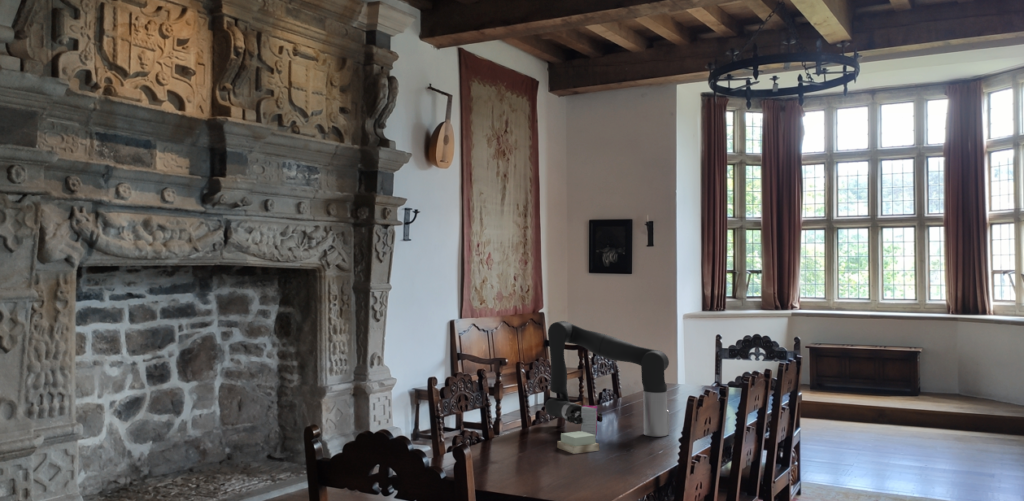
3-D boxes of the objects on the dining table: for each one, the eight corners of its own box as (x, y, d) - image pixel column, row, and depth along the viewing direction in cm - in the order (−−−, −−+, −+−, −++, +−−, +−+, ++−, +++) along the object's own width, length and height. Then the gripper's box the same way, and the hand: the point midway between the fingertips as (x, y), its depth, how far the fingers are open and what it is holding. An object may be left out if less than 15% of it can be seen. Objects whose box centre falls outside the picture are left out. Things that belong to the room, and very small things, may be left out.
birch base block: (582, 446, 288) (582, 438, 289) (599, 452, 279) (599, 443, 279) (557, 449, 283) (557, 441, 283) (573, 455, 274) (573, 447, 274)
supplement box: (596, 438, 293) (596, 407, 293) (580, 437, 294) (580, 407, 294) (597, 434, 299) (597, 405, 299) (582, 434, 300) (582, 404, 300)
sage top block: (581, 439, 287) (580, 431, 287) (595, 443, 279) (595, 435, 279) (560, 441, 283) (560, 433, 283) (575, 446, 275) (575, 437, 275)
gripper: (557, 404, 308) (574, 411, 292) (589, 402, 313) (608, 408, 297) (557, 423, 308) (574, 431, 292) (590, 421, 312) (608, 428, 297)
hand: (591, 420), depth 295 cm, fingers closed on supplement box, 7 cm apart
